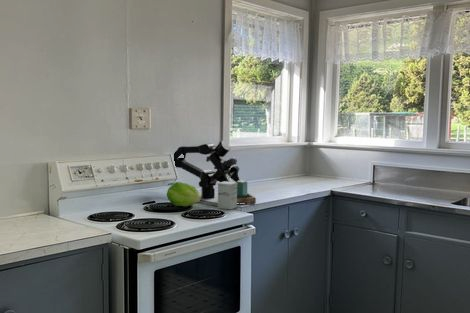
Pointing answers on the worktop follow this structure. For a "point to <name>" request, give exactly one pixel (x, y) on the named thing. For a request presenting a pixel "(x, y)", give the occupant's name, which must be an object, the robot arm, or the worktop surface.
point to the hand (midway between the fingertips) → (235, 185)
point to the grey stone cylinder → (227, 195)
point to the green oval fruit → (183, 194)
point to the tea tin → (241, 189)
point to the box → (247, 199)
